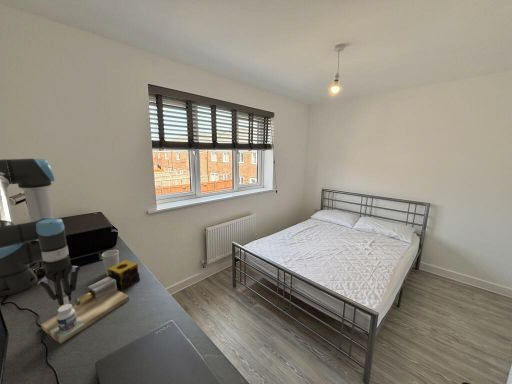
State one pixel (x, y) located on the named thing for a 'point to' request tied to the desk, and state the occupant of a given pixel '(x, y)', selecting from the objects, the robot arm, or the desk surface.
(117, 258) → the cup
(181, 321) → the desk surface
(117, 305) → the wooden base board
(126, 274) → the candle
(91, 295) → the pin
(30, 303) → the desk surface
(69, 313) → the pill bottle
